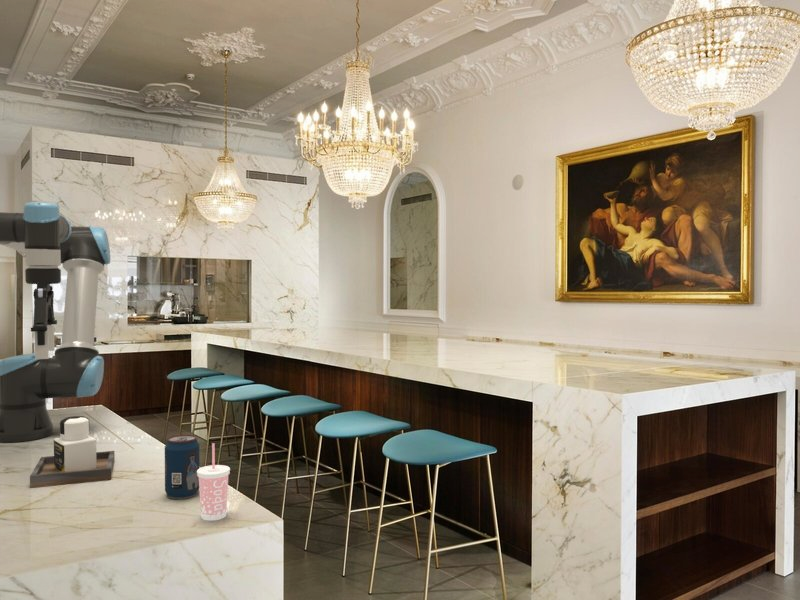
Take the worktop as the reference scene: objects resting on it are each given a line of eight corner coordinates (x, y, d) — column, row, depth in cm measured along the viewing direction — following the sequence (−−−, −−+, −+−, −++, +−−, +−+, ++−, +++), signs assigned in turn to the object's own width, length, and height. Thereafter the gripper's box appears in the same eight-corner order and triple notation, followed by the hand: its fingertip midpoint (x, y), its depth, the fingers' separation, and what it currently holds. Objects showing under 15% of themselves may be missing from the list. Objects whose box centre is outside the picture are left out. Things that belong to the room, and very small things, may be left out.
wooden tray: (41, 467, 155) (41, 456, 155) (114, 460, 161) (114, 450, 161) (30, 487, 140) (29, 476, 140) (111, 479, 146) (110, 468, 146)
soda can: (172, 488, 140) (172, 433, 139) (204, 489, 139) (203, 433, 139) (159, 499, 133) (159, 441, 132) (193, 500, 132) (192, 442, 132)
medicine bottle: (53, 468, 150) (52, 417, 150) (86, 462, 155) (85, 413, 155) (63, 475, 145) (63, 422, 145) (97, 469, 150) (96, 417, 150)
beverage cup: (199, 524, 120) (198, 449, 119) (195, 512, 125) (194, 441, 125) (232, 519, 122) (232, 445, 122) (227, 508, 128) (227, 438, 127)
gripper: (32, 266, 166) (34, 348, 168) (17, 268, 143) (19, 363, 145) (64, 266, 169) (66, 347, 171) (55, 268, 146) (57, 361, 148)
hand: (45, 354), depth 158 cm, fingers open, 13 cm apart
